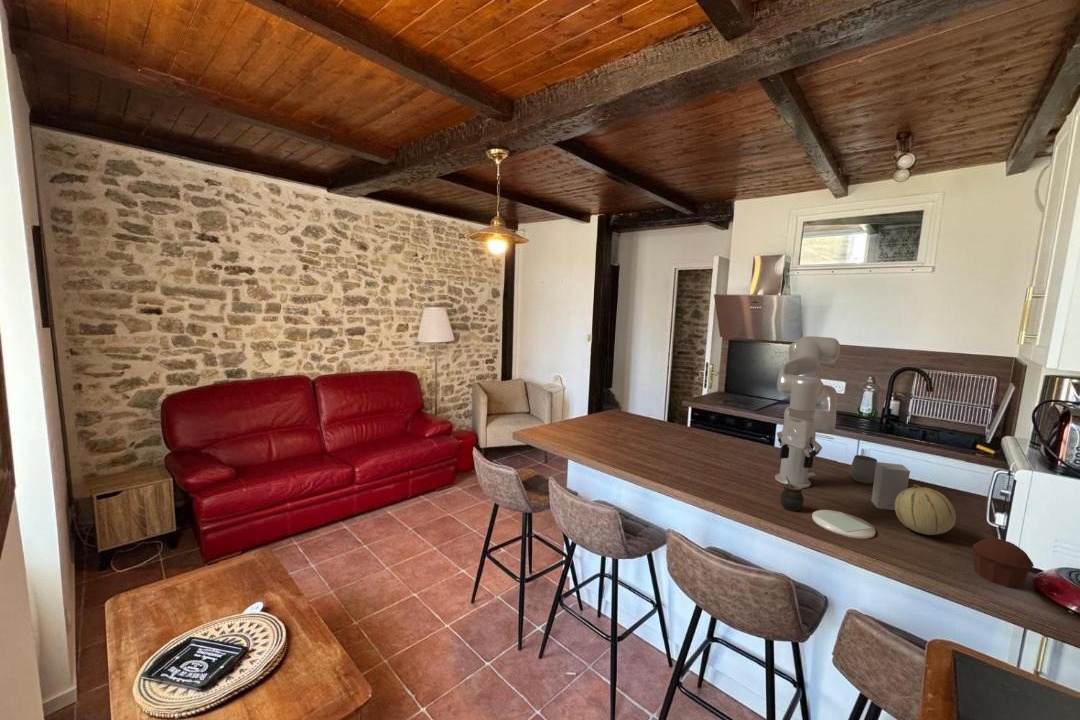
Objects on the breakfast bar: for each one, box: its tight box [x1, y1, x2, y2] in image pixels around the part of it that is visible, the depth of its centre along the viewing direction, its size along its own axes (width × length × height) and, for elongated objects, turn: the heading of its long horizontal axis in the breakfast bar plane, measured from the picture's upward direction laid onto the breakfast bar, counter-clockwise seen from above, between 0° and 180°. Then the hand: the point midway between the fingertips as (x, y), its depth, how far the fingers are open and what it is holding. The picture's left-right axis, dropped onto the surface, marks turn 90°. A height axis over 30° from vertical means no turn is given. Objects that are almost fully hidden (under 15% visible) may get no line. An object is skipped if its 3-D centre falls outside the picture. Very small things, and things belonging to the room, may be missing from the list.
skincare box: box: [870, 461, 911, 511], centre depth 157 cm, size 8×7×16 cm
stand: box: [811, 509, 876, 540], centre depth 143 cm, size 17×17×1 cm
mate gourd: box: [779, 477, 805, 512], centre depth 153 cm, size 7×8×10 cm
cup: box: [849, 454, 878, 484], centre depth 182 cm, size 10×9×10 cm
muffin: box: [972, 537, 1035, 589], centre depth 116 cm, size 12×11×10 cm
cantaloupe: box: [894, 484, 957, 536], centre depth 140 cm, size 15×15×15 cm
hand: (795, 462), depth 152 cm, fingers open, 9 cm apart
